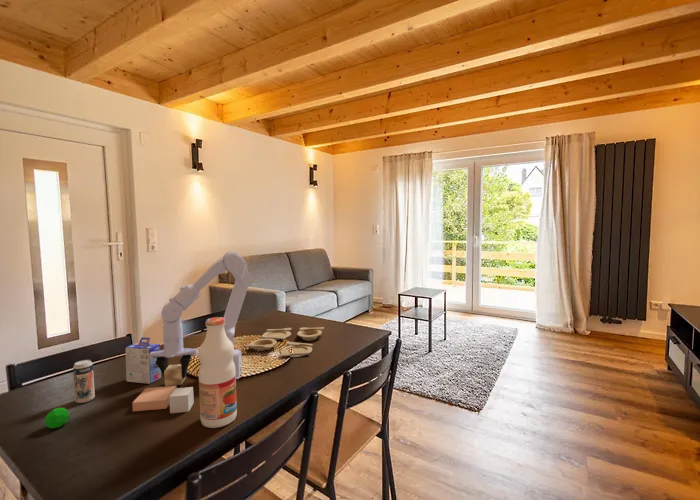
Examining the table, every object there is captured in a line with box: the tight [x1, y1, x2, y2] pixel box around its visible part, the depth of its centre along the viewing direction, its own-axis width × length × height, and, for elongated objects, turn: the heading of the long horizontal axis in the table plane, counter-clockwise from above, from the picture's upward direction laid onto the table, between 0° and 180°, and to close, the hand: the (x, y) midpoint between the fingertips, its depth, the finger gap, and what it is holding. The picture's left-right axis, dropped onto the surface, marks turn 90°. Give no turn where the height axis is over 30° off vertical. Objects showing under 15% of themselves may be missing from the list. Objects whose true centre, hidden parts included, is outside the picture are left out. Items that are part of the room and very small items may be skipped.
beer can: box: [72, 359, 96, 404], centre depth 104 cm, size 5×5×12 cm
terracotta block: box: [131, 385, 178, 412], centre depth 103 cm, size 9×9×3 cm
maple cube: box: [163, 363, 187, 387], centre depth 114 cm, size 5×5×5 cm
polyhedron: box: [44, 407, 70, 429], centre depth 91 cm, size 5×5×5 cm
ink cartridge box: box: [125, 336, 162, 385], centre depth 118 cm, size 10×6×14 cm, turn 78°
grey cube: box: [169, 386, 195, 414], centre depth 99 cm, size 5×5×5 cm
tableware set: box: [244, 326, 325, 358], centre depth 153 cm, size 35×29×4 cm
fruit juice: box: [197, 316, 238, 429], centre depth 93 cm, size 9×9×28 cm
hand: (175, 377), depth 114 cm, fingers closed on maple cube, 5 cm apart
